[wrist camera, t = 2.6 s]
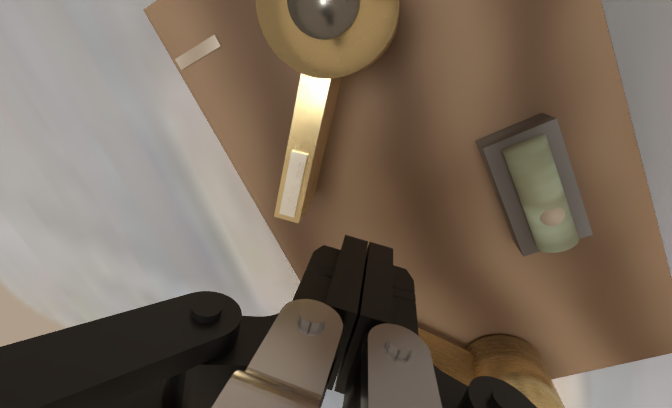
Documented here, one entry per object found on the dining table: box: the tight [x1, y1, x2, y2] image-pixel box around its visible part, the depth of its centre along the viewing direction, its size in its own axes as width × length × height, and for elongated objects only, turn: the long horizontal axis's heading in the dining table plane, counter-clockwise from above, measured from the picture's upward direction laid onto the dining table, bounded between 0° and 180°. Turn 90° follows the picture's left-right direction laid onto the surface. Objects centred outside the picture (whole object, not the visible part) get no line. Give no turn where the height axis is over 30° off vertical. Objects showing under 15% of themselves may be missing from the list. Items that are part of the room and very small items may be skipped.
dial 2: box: [418, 328, 564, 408], centre depth 21 cm, size 12×5×6 cm, turn 66°
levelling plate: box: [144, 0, 672, 379], centre depth 19 cm, size 19×29×5 cm, turn 26°
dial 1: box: [256, 0, 399, 224], centre depth 16 cm, size 12×5×6 cm, turn 166°
